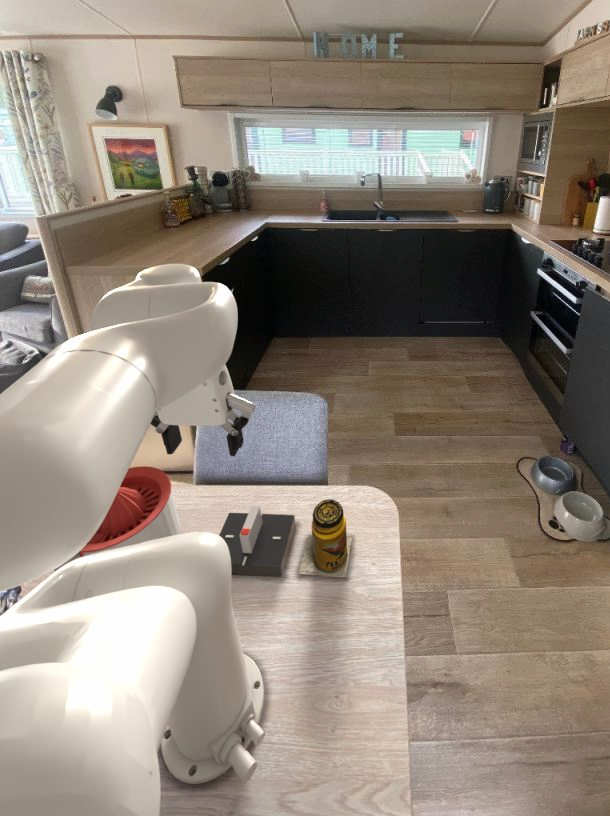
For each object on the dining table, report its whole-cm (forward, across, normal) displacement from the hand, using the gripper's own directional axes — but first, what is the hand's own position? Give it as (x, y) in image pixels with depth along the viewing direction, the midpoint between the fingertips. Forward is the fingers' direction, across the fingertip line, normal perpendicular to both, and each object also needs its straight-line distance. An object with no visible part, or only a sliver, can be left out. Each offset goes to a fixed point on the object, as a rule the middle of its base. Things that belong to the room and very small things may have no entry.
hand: (205, 448), depth 61 cm
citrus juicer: (+26, +15, +4) cm, 31 cm away
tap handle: (+23, -4, -2) cm, 24 cm away
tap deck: (+26, -4, -2) cm, 27 cm away
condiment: (+26, -17, -1) cm, 32 cm away
